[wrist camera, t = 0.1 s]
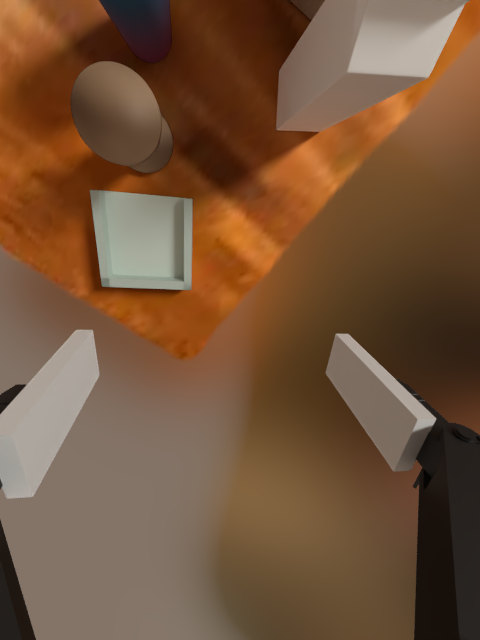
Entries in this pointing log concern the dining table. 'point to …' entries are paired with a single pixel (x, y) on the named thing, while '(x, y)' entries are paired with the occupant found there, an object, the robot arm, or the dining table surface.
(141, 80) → the doorknob
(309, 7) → the wooden block
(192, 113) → the dining table surface
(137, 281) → the square tray
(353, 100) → the milk
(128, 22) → the cup
